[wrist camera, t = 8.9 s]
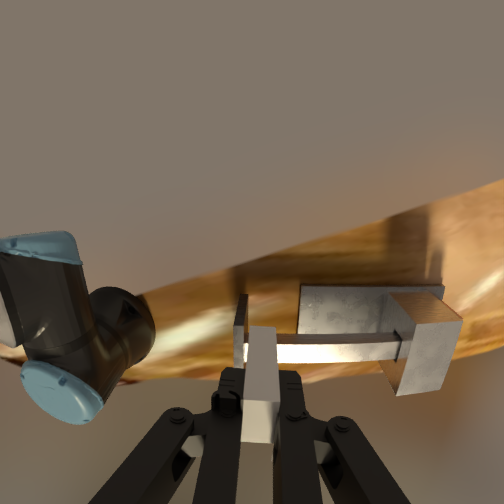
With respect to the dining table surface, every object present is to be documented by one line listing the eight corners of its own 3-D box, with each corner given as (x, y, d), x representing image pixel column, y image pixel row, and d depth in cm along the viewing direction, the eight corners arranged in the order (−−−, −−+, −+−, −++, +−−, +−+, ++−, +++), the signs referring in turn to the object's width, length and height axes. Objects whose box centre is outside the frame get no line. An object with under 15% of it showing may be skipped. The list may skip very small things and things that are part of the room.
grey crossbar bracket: (240, 361, 49) (234, 401, 39) (240, 293, 46) (233, 325, 36) (398, 358, 48) (419, 393, 38) (412, 295, 45) (441, 322, 35)
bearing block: (295, 354, 52) (301, 404, 39) (301, 284, 49) (312, 323, 36) (427, 347, 51) (458, 388, 38) (442, 284, 48) (483, 315, 35)
